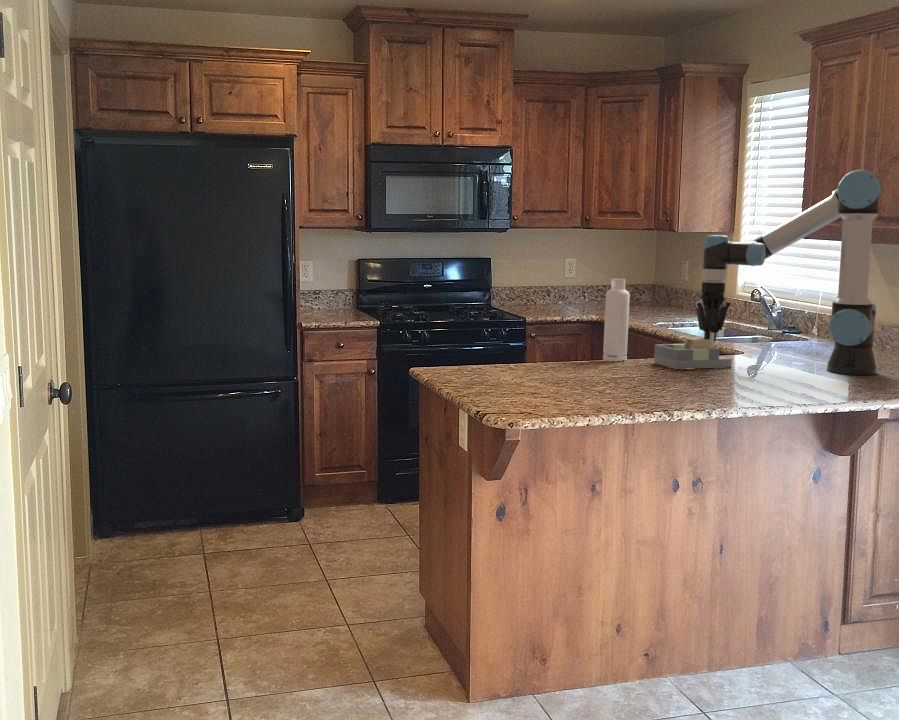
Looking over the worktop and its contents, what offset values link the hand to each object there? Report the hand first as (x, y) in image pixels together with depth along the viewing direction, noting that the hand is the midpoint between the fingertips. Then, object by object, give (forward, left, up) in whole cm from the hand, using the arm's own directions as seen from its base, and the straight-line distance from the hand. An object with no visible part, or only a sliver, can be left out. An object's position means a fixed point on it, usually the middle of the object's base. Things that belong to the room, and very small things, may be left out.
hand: (709, 351), depth 332 cm
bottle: (+17, +27, -5) cm, 32 cm away
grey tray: (0, +7, -5) cm, 8 cm away
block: (0, +5, -2) cm, 5 cm away
